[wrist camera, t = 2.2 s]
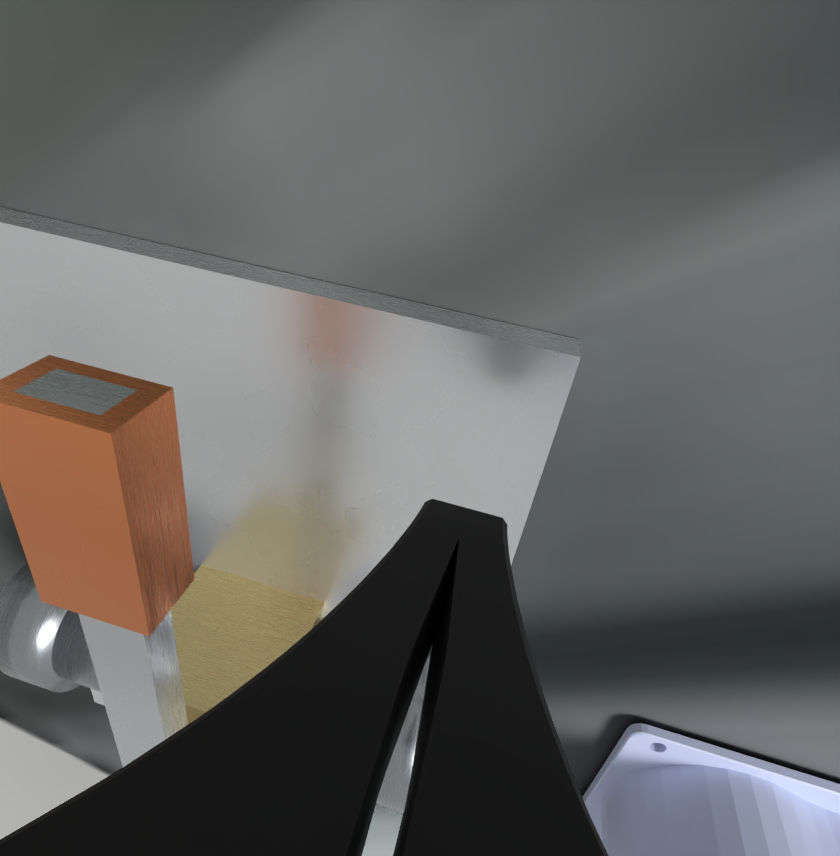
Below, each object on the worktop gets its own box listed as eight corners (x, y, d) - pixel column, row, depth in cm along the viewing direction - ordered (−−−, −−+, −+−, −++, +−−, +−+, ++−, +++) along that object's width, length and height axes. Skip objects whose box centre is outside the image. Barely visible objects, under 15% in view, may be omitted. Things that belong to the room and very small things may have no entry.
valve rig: (580, 339, 13) (581, 490, 8) (431, 792, 25) (396, 962, 20) (-22, 202, 15) (-311, 256, 10) (109, 682, 27) (6, 813, 22)
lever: (225, 801, 16) (197, 856, 15) (144, 772, 17) (111, 824, 15) (184, 390, 9) (124, 436, 8) (39, 351, 9) (-42, 390, 8)
